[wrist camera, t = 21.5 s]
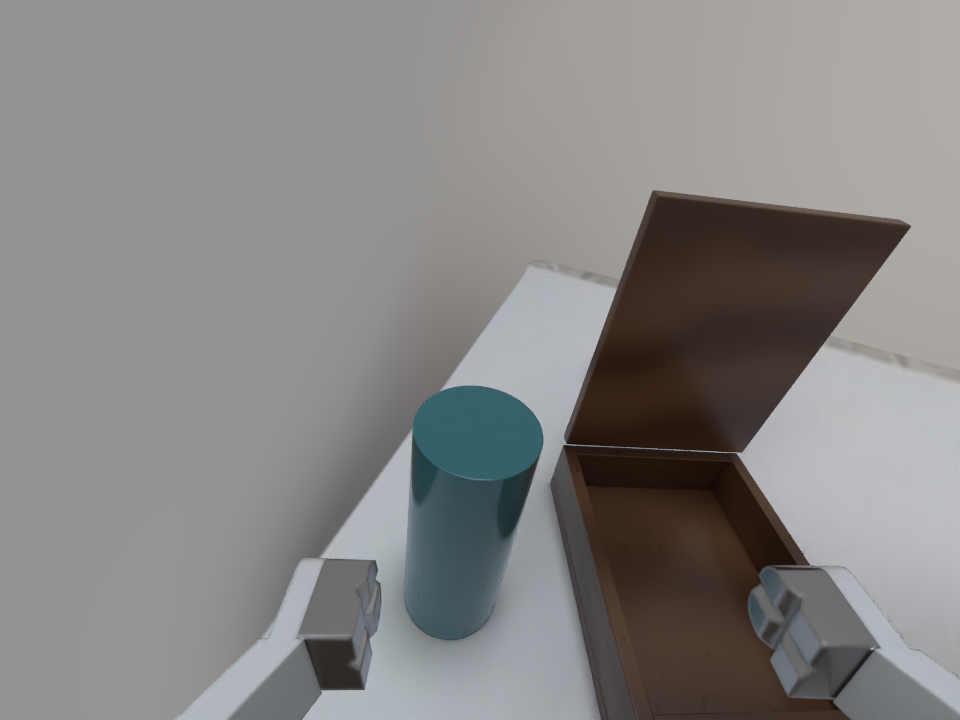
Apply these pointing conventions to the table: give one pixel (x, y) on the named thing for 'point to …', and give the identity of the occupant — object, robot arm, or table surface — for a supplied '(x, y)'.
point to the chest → (674, 583)
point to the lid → (721, 318)
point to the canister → (465, 504)
